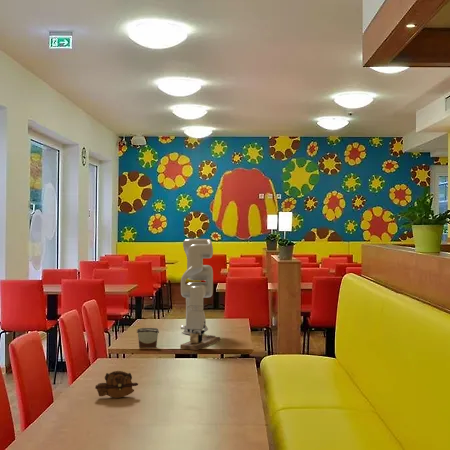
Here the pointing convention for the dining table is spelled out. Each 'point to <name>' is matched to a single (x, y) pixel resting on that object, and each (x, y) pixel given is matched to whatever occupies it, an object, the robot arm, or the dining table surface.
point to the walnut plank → (200, 343)
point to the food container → (148, 337)
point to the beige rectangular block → (194, 337)
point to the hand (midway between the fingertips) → (196, 341)
